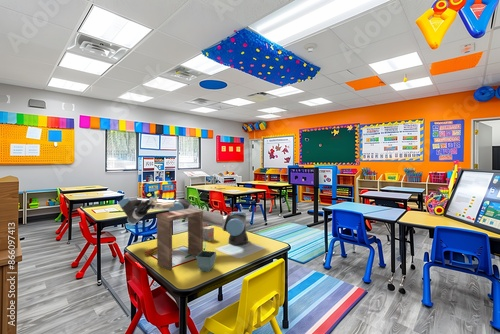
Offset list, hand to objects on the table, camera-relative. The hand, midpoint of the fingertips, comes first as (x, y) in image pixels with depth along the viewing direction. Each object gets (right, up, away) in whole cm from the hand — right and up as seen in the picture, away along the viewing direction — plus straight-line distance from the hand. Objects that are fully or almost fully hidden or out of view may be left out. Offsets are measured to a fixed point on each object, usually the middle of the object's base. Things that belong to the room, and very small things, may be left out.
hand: (154, 198), depth 154 cm
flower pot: (+37, -38, -20) cm, 57 cm away
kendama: (-1, -38, +10) cm, 39 cm away
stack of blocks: (+24, -37, +39) cm, 59 cm away
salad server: (+2, -4, -2) cm, 5 cm away
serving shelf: (+19, -38, -7) cm, 43 cm away
